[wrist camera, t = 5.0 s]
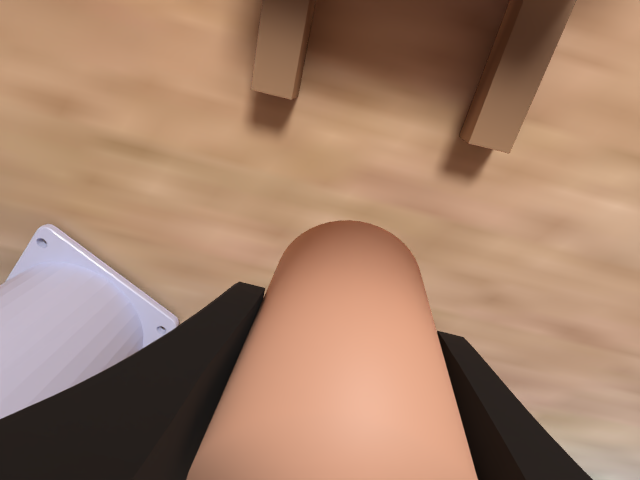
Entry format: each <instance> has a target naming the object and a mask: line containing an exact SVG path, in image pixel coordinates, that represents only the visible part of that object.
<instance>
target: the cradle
mask: <svg viewBox="0 0 640 480" xmlns="http://www.w3.org/2000/svg"><path fill="white" fill-rule="evenodd" d="M315 2H316V0H263V2H262V9H261V16H260V24H259V31H258V39H257V46H256V54H255V61H254V68H253V76H252V83H251V90H254V91H258V92H262V93H266V94H270V95H274V96H278V97H282V98H286V99H290V100H292V99H294V98H296V97H298V94H299V89H300V83H301V78H302V72H303V67H304V62H305V56H306V51H307V45H308V40H309V35H310V29H311V24H312V19H313V13H314V8H315ZM575 2H576V0H510V1H509V4H508V6H507V9H506V12H505V15H504V17H503V20H502V23H501V25H500V28H499V31H498V33H497V36H496V39H495V41H494V44H493V47H492V49H491V52H490V55H489V57H488V60H487V63H486V65H485V68H484V71H483V74H482V76H481V79H480V82H479V84H478V87H477V90H476V92H475V95H474V98H473V100H472V103H471V106H470V108H469V111H468V114H467V116H466V119H465V122H464V124H463V127H462V130H461V133H460V135H459V137H460V138H462V139H463V140H465V141H466V142H467V143H469V144H473V145H477V146H481V147H485V148H489V149H493V150H497V151H501V152H505V153H510V151H511V149H512V147H513V144H514V142H515V140H516V137H517V135H518V133H519V131H520V128H521V126H522V124H523V121H524V119H525V117H526V114H527V112H528V110H529V108H530V105H531V103H532V101H533V98H534V96H535V94H536V92H537V89H538V87H539V85H540V82H541V80H542V78H543V76H544V73H545V71H546V69H547V66H548V64H549V62H550V60H551V57H552V55H553V53H554V50H555V48H556V46H557V44H558V41H559V39H560V37H561V34H562V32H563V30H564V28H565V25H566V23H567V21H568V18H569V16H570V14H571V12H572V9H573V7H574V5H575Z"/></svg>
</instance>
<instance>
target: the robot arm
mask: <svg viewBox="0 0 640 480" xmlns="http://www.w3.org/2000/svg"><path fill="white" fill-rule="evenodd" d="M43 239H44V240H45V241H46V242H47V244H46V243H45V242H44V241H43ZM264 291H265V288H263V287H259V286H255V285H251V284H247V283H242V282H238V283H236V284H234V285H233V286H232V287H231V288H229V289H228V290H227V291H225V292H224V293H223V294H222V295H220V296H219V297H218V298H216V299H215V300H214V301H212V302H211V303H210V304H208V305H207V306H206V307H204V308H203V309H202V310H200V311H199V312H197V313H196V314H195V315H193V316H192V317H190V318H189V319H187V320H186V321H184V322H183V323H182V324H180V325H179V321H178V318H177V317H176V316H175V315H174V314H172V313H171V312H169V311H168V310H167V309H165V308H164V307H163V306H161V305H160V304H159V303H157V302H156V301H155V300H153V299H152V298H151V297H149V296H148V295H147V294H145V293H144V292H143V291H141V290H140V289H139V288H137V287H136V286H135V285H133V284H132V283H131V282H129V281H128V280H127V279H125V278H124V277H123V276H121V275H120V274H119V273H117V272H116V271H115V270H113V269H112V268H111V267H109V266H108V265H107V264H105V263H104V262H102V261H101V260H100V259H98V258H97V257H96V256H94V255H93V254H92V253H90V252H89V251H88V250H86V249H85V248H84V247H82V246H81V245H80V244H78V243H77V242H76V241H74V240H73V239H72V238H70V237H69V236H68V235H66V234H65V233H64V232H62V231H61V230H60V229H58V228H57V227H55V226H54V225H51V224H45V225H43V226H41V227H39V228H38V229H37V231H36V233H35V234H34V236H33V237H32V239H31V241H30V242H29V244H28V245H27V247H26V249H25V250H24V252H23V254H22V255H21V257H20V258H19V260H18V262H17V263H16V265H15V266H14V268H13V270H12V271H11V273H10V275H9V276H8V278H7V279H6V281H5V283H3V284H2V285H0V480H186V479H187V476H188V472H189V470H190V468H191V465H192V463H193V461H194V459H195V456H196V454H197V452H198V449H199V447H200V445H201V442H202V440H203V438H204V435H205V433H206V431H207V428H208V426H209V424H210V421H211V419H212V417H213V414H214V412H215V410H216V407H217V405H218V403H219V401H220V398H221V396H222V394H223V391H224V389H225V387H226V384H227V382H228V380H229V377H230V375H231V373H232V370H233V368H234V366H235V363H236V361H237V359H238V356H239V354H240V352H241V350H242V347H243V345H244V343H245V340H246V338H247V336H248V333H249V331H250V329H251V326H252V324H253V322H254V319H255V317H256V315H257V312H258V310H259V308H260V305H261V303H262V301H263V297H264ZM178 325H179V326H178ZM161 326H162V327H164V328H165V329H166V330H164V329H162V328H161ZM437 334H438V338H439V342H440V345H441V349H442V352H443V356H444V360H445V363H446V367H447V370H448V374H449V378H450V381H451V385H452V388H453V392H454V396H455V399H456V403H457V406H458V410H459V414H460V417H461V421H462V424H463V428H464V432H465V435H466V439H467V442H468V446H469V450H470V453H471V457H472V460H473V464H474V468H475V471H476V475H477V478H478V480H593V479H592V478H591V477H590V476H589V475H588V474H587V473H586V472H585V471H584V470H583V469H582V468H581V467H580V466H579V465H578V464H577V463H576V462H575V461H574V460H573V459H572V458H571V457H570V456H569V455H568V454H567V453H566V452H565V451H564V450H563V449H562V447H561V446H560V445H559V444H558V443H557V442H556V441H555V440H554V439H553V438H552V437H551V436H550V435H549V434H548V433H547V432H546V430H545V429H544V428H543V427H542V426H541V425H540V424H539V423H538V422H537V421H536V419H535V418H534V417H533V416H532V415H531V414H530V413H529V412H528V410H527V409H526V408H525V407H524V406H523V405H522V404H521V402H520V401H519V400H518V399H517V398H516V397H515V396H514V394H513V393H512V392H511V391H510V390H509V389H508V387H507V386H506V385H505V384H504V383H503V382H502V380H501V379H500V378H499V377H498V376H497V375H496V373H495V372H494V371H493V370H492V369H491V368H490V366H489V365H488V364H487V363H486V362H485V361H484V359H483V358H482V357H481V356H480V355H479V354H478V352H477V351H476V350H475V349H474V348H473V347H472V346H471V345H470V344H469V343H468V341H467V340H466V339H465V338H464V337H461V336H456V335H452V334H448V333H444V332H440V331H437Z"/></svg>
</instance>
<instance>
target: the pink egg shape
mask: <svg viewBox="0 0 640 480" xmlns="http://www.w3.org/2000/svg"><path fill="white" fill-rule="evenodd" d="M186 480H478V478H477V475H476V471H475V468H474V464H473V460H472V457H471V453H470V450H469V446H468V442H467V439H466V435H465V432H464V428H463V424H462V421H461V417H460V414H459V410H458V406H457V403H456V399H455V396H454V392H453V388H452V385H451V381H450V378H449V374H448V370H447V367H446V363H445V360H444V356H443V352H442V349H441V345H440V342H439V338H438V334H437V331H436V327H435V324H434V320H433V316H432V313H431V309H430V306H429V302H428V298H427V295H426V291H425V288H424V284H423V281H422V277H421V273H420V270H419V266H418V264H417V262H416V260H415V258H414V256H413V255H412V253H411V251H410V250H409V249H408V248H407V247H406V245H405V244H404V243H403V242H402V241H400V240H399V239H398V238H397V237H396V236H394V235H393V234H391V233H390V232H388V231H386V230H384V229H382V228H380V227H378V226H375V225H372V224H369V223H364V222H360V221H350V220H348V221H334V222H328V223H325V224H321V225H318V226H316V227H313V228H311V229H309V230H308V231H306V232H304V233H302V234H301V235H300V236H299V237H297V238H296V239H295V240H294V241H293V242H292V243H291V244H290V245H289V246H288V248H287V249H286V250H285V252H284V253H283V255H282V257H281V259H280V261H279V264H278V266H277V268H276V271H275V273H274V275H273V278H272V280H271V282H270V285H269V287H268V289H267V292H266V294H265V296H264V298H263V301H262V303H261V305H260V308H259V310H258V312H257V315H256V317H255V319H254V322H253V324H252V326H251V329H250V331H249V333H248V336H247V338H246V340H245V343H244V345H243V347H242V350H241V352H240V354H239V356H238V359H237V361H236V363H235V366H234V368H233V370H232V373H231V375H230V377H229V380H228V382H227V384H226V387H225V389H224V391H223V394H222V396H221V398H220V401H219V403H218V405H217V407H216V410H215V412H214V414H213V417H212V419H211V421H210V424H209V426H208V428H207V431H206V433H205V435H204V438H203V440H202V442H201V445H200V447H199V449H198V452H197V454H196V456H195V459H194V461H193V463H192V465H191V468H190V470H189V472H188V476H187V479H186Z"/></svg>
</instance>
